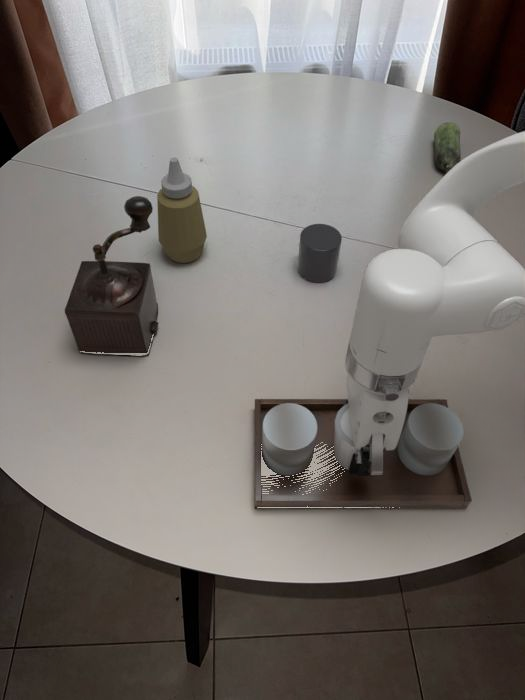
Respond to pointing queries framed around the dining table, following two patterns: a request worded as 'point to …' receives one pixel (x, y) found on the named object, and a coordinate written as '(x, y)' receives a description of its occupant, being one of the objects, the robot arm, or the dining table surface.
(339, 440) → the white cup
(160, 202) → the squeeze bottle
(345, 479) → the tray
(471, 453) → the dining table surface
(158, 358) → the dining table surface
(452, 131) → the vegetable
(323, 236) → the grey cylinders
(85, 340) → the manual coffee grinder
